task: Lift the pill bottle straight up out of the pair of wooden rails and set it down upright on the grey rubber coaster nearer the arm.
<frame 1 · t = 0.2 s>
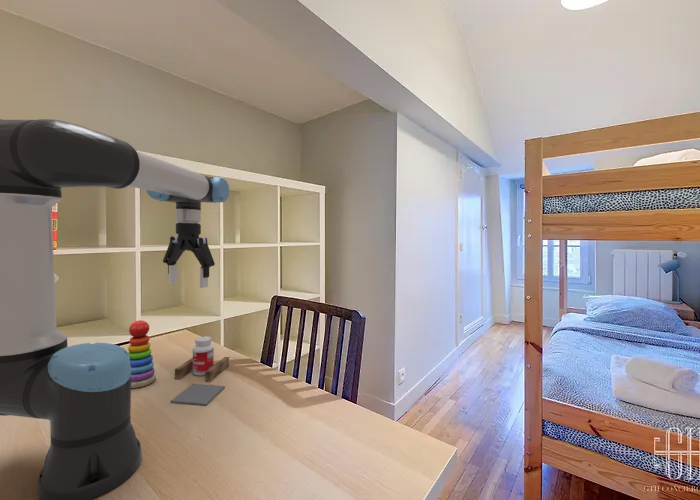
hand: (188, 285, 108), 27 cm above the table, fingers open, 13 cm apart
coaster: (199, 394, 90), on the table
pair of wooden rails: (203, 371, 105), on the table
stacking toy: (140, 383, 96), on the table
pill bottle: (203, 372, 105), on the table
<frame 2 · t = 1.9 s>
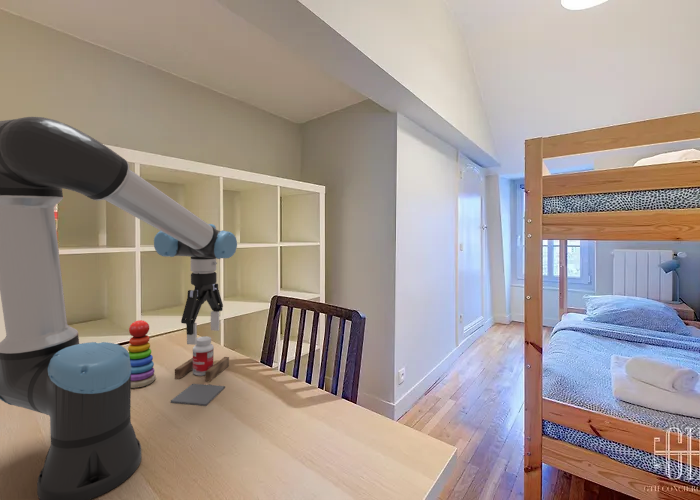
hand: (204, 336, 104), 11 cm above the table, fingers open, 13 cm apart
nothing on the table moved.
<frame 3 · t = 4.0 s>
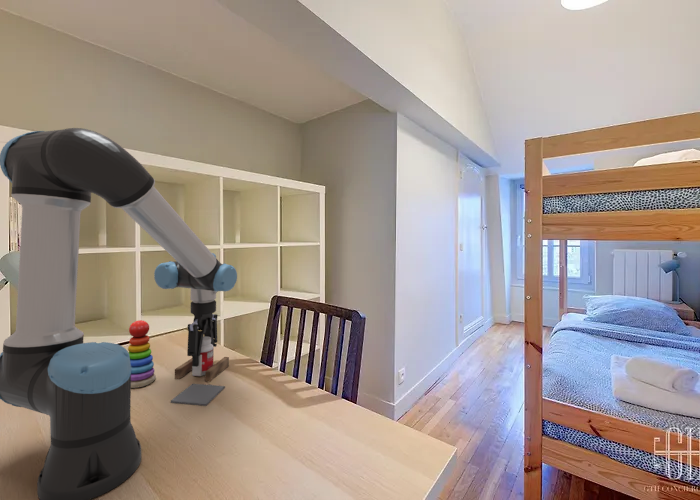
hand: (203, 370, 105), 0 cm above the table, fingers closed on pill bottle, 6 cm apart
pill bottle: (203, 372, 105), on the table, touching gripper
everything else where it was.
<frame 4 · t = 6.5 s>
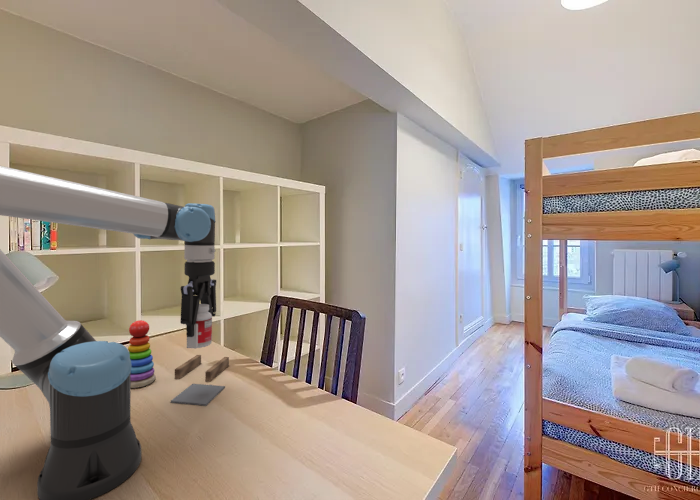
hand: (199, 343, 89), 15 cm above the table, fingers closed on pill bottle, 6 cm apart
pill bottle: (199, 345, 89), point 14 cm above the table, touching gripper
everything else where it was.
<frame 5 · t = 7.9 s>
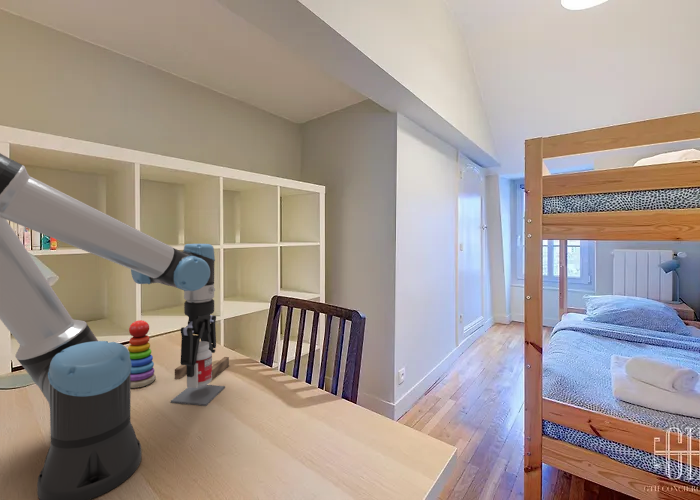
hand: (199, 381, 90), 4 cm above the table, fingers closed on pill bottle, 6 cm apart
pill bottle: (199, 383, 90), point 3 cm above the table, touching gripper
everything else where it was.
when the fingers open (2 cm above the table, at t = 8.9 s): pill bottle drops 1 cm, resting on coaster.
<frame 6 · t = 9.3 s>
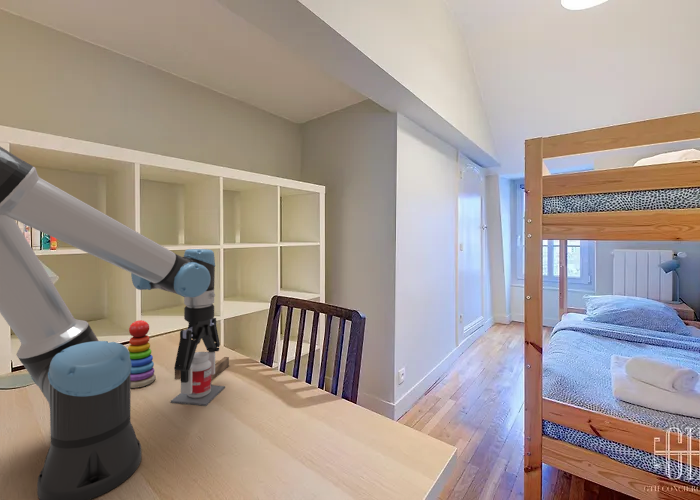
hand: (199, 382, 90), 3 cm above the table, fingers open, 11 cm apart
pill bottle: (199, 393, 90), resting on coaster
everything else where it was.
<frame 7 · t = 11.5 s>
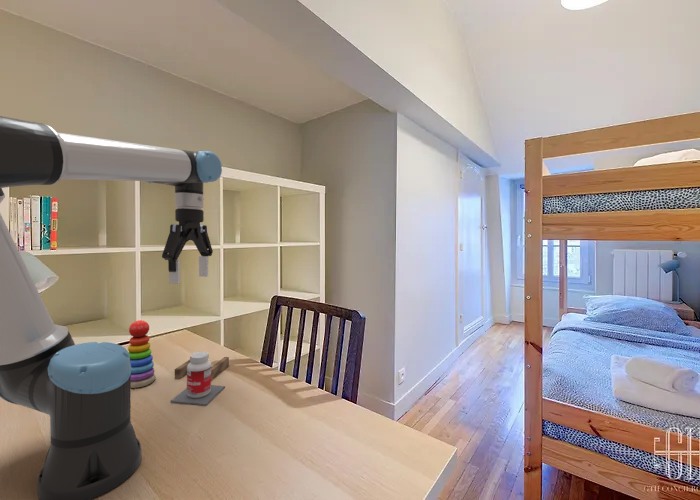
hand: (190, 279, 97), 31 cm above the table, fingers open, 13 cm apart
nothing on the table moved.
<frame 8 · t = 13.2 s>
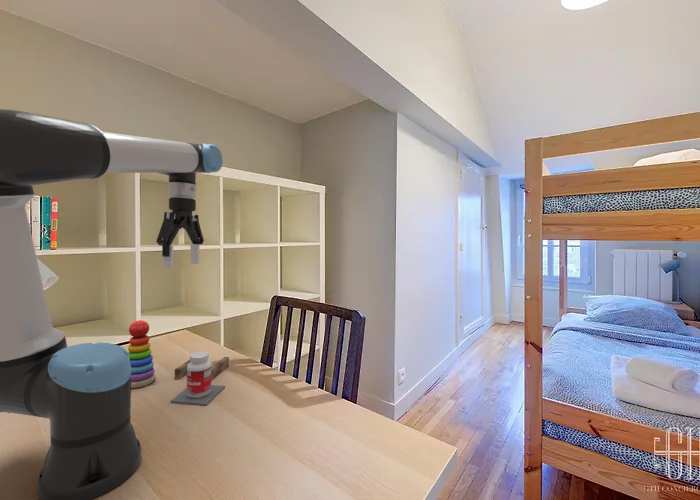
hand: (182, 265, 101), 35 cm above the table, fingers open, 13 cm apart
nothing on the table moved.
at the end: pill bottle inside the target area on the coaster (0.0 cm from its centre), point 0.3 cm above the coaster's base; pill bottle tilted 0°; the gripper is holding nothing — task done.
